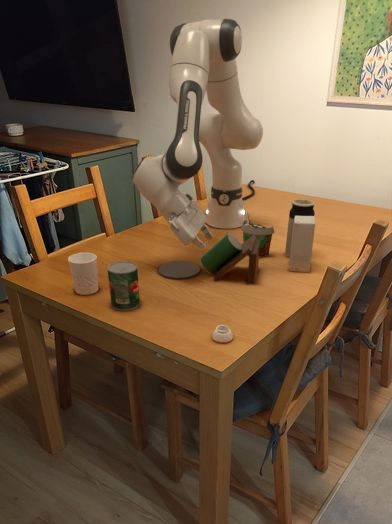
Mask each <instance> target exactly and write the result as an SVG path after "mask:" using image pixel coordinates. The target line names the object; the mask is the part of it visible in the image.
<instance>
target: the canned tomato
mask: <svg viewBox="0 0 392 524" xmlns="http://www.w3.org/2000/svg"><path fill="white" fill-rule="evenodd" d="M106 269H107V276H108V277H107V278H108V286H109V294H110V306H111V308H113V309H114V310H117V311H120V312H121V311H122V312H123V311H127V312H128V311H133V310H135V309H137V308H138V307H140V305H141V301H140V300H141V299H140V298H141V297H140V286H139V285H140V284H139V272H138V264H137V263H135V262H132V261H127V260H124V261H123V260H122V261H115V262H113V263H110V264H108V266H107V267H106Z"/></svg>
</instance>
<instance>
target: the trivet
mask: <svg viewBox="0 0 392 524" xmlns="http://www.w3.org/2000/svg"><path fill="white" fill-rule="evenodd" d="M200 270H201V269H200V267H199V265H198V264H196V263H194V262H191V261H186V260H173V261H169V262H165V263H163V264H161V265H160V266H159V267H158V274H159V275H160V276H161V277H163V278H166V279H170V280H188V279H192V278H195V277H196V276H198V275H199V273H200V272H201V271H200Z"/></svg>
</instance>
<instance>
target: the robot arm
mask: <svg viewBox="0 0 392 524" xmlns="http://www.w3.org/2000/svg"><path fill="white" fill-rule="evenodd" d="M242 44H243V35H242V30H241V26H240V25H239V24H238V22H237V21H236V20H235V19H231V18H223V19H217V18H216V19H215V18H212V19H203V20H199V21H193V22H188V23H184V22H183V23H181V24H178V25H176V26H175V27H174V28H173V30H172V31H171V33H170V37H169V50H170V54H171V62H170V68H169V78H168V80H169V81H168V83H169V85H168V86H169V96H170V98H171V99H172V100H173V102H175V104H177V105H176V106H177V113H176V123H175V134H174V137H173V140H172V141H171V143H170V144H169V146H168V148H167V150H166V152H164V153H162V154H159V155H156V156H151V157H144V158H142V159H141V160H140V162H139V163H138V164H137V166H136V167H135V170H134V171H133V173H132V178H131V180H132V184H133V185H134V187H135V188H136V190H138V191H139V193H140V194H141V195H142V196H143V197H144V199H145V200H146V201H147V202H149V203H150V204H152V205H153V206H154V208H155V209H156V210H157V212H158V213H159V214H160V216H161V217H163V219H164V220H165V221H166V222H167V223H168V224H169V227H170V230H171V232H172V233H173V234H174V235H175V236H176V238H177V239H178V240H179V241H180V242H181V243H182V244H183V245H185V246H189V245H190V244H192V245H193V246H195V247H197V248H199V250H200V251H201V252H203V251H205V250H206V249H207V248H208V245H207V244H206V243H205V241H202V240H201V239H200V238H199V236H198V235H199V232H202V233H203V235H204V238H205V239H207V240H208V241H210V240H211V239H212V238H213V237H214V235H213V233H212V232H211V231H210V229H209V227H208V226H210V227H212V228H216V229H223V230H224V229H225V230H229V229H236V228H241V226H242V223H243V221H244V220H246V222H248V223H250V222H249V221H250V220H249V216H248V212H247V211H246V210H245V207H246V203H245V202H244V200H247V199H249V198H251V197H253V196H254V195H255V188H254V187H253V186H252V184H255V180H253V179H251V180H250V181H249V182H248V184H247V187H248V189H251V191H252V192H251V193H250V194H249V195H245V196H243V186H242V178H243V177H242V176H243V167H242V164H241V162H240V161H239V160H237V159H236V158H235V157H234V155H233V154H232V150H237V151H238V150H239V151H247V150H248V151H249V150H254V149H256V148H257V147H258V146H259V145H260V144H261V142H262V139H263V135H264V128H263V125H262V123H261V121H260V120H259V119H257V118H256V117H255V116H254V115H253V114H252V113H251V111H250V110H249V108H248V107H247V105H246V103H245V101H244V99H243V96H242V93H241V88H240V82H239V74H238V66H237V60H236V59H237V58H238V56H239V55H240V53H241V50H242ZM205 95H206V97H207V101H208V103H209V105H210V106H211V108H213V109H214V110H215V111H217V112H218V113H211V114H205V115H201V114H202V105H203V102H204V98H205ZM200 144H201V145H202V146H203V147H204V149H205V150H206V152H207V154H208V157H209V160H210V164H211V171H212V183H211V184H212V185H211V188H210V199H208V201H207V202H206V211H205V212H204V211H203V210H202V208H200V206H199V205H198V204H197V203H196V202H195V201H194V197H193V196H192V195H191V194H189V193H183V192H182V191H181V190H180V189H179V187H180V186H181V185H183V184H185V183H187V182H188V181H189V180H190V179H192V178H193V177H195V176H196V175H197V174H198V173H199V172H200V171H201V169H202V166H203V160H204V159H203V152H202V148H201V145H200ZM205 213H206V214H205Z"/></svg>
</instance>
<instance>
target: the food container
mask: <svg viewBox="0 0 392 524" xmlns="http://www.w3.org/2000/svg"><path fill="white" fill-rule="evenodd" d="M240 230H241V231H242V244H243V243H244V242H245V241H246V240H248V239H249V238H250V237H251V236H252V235H254V236H255V237H256V239H255V240H260V252H259V258H261V257H266V256H269V254H270V249H271V244H272V238H273V234H275V228H274V226H271V227H267V226H264V225H262V224H260V223H259V224H258V223H252V222H249V223H248V222H246V220H244V221H243V223H242V226H241V227H240ZM249 254H250V253H249ZM249 254H248V255H247V256H249Z"/></svg>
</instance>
